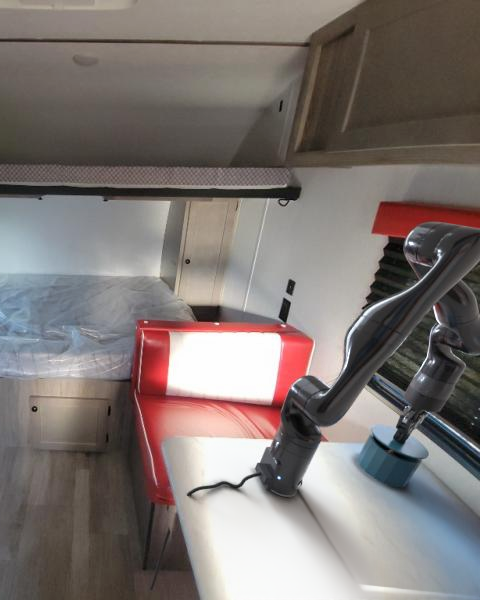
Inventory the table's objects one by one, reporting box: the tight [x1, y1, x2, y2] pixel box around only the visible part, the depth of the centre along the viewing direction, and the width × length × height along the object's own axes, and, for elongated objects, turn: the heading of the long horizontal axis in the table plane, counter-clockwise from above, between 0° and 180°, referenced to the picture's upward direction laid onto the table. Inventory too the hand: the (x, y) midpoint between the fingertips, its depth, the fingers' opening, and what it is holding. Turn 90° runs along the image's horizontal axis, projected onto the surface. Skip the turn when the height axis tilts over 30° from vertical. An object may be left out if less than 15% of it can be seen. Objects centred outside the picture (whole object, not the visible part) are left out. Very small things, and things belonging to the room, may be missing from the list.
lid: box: [370, 424, 430, 460], centre depth 95 cm, size 13×13×6 cm
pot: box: [356, 432, 423, 488], centre depth 99 cm, size 12×12×10 cm
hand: (399, 438), depth 96 cm, fingers closed on lid, 2 cm apart
